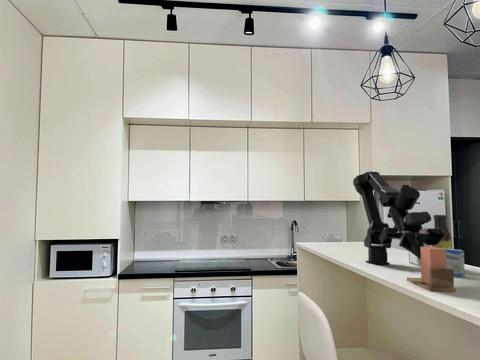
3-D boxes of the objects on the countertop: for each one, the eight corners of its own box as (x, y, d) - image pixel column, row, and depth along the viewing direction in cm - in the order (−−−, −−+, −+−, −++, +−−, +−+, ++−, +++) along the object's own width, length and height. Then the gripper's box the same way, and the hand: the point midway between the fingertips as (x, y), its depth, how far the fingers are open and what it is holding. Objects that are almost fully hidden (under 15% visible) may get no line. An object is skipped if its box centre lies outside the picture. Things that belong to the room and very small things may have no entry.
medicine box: (434, 273, 105) (433, 248, 106) (437, 271, 108) (436, 247, 109) (462, 278, 100) (462, 251, 100) (464, 275, 103) (464, 249, 104)
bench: (406, 280, 95) (406, 261, 95) (429, 280, 95) (429, 261, 96) (430, 291, 84) (429, 269, 84) (456, 291, 84) (455, 269, 84)
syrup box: (432, 265, 119) (431, 228, 120) (418, 265, 118) (417, 227, 119) (421, 262, 125) (420, 226, 126) (408, 263, 124) (407, 226, 125)
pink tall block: (421, 281, 90) (420, 246, 91) (436, 281, 90) (435, 246, 91) (430, 285, 85) (429, 248, 86) (446, 285, 86) (445, 249, 86)
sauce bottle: (457, 271, 109) (455, 215, 110) (439, 271, 109) (437, 215, 110) (445, 267, 115) (443, 214, 117) (428, 267, 116) (427, 214, 117)
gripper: (383, 202, 99) (402, 242, 87) (440, 203, 99) (467, 242, 88) (372, 224, 106) (388, 264, 95) (425, 225, 107) (448, 264, 95)
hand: (422, 258), depth 93 cm, fingers closed
